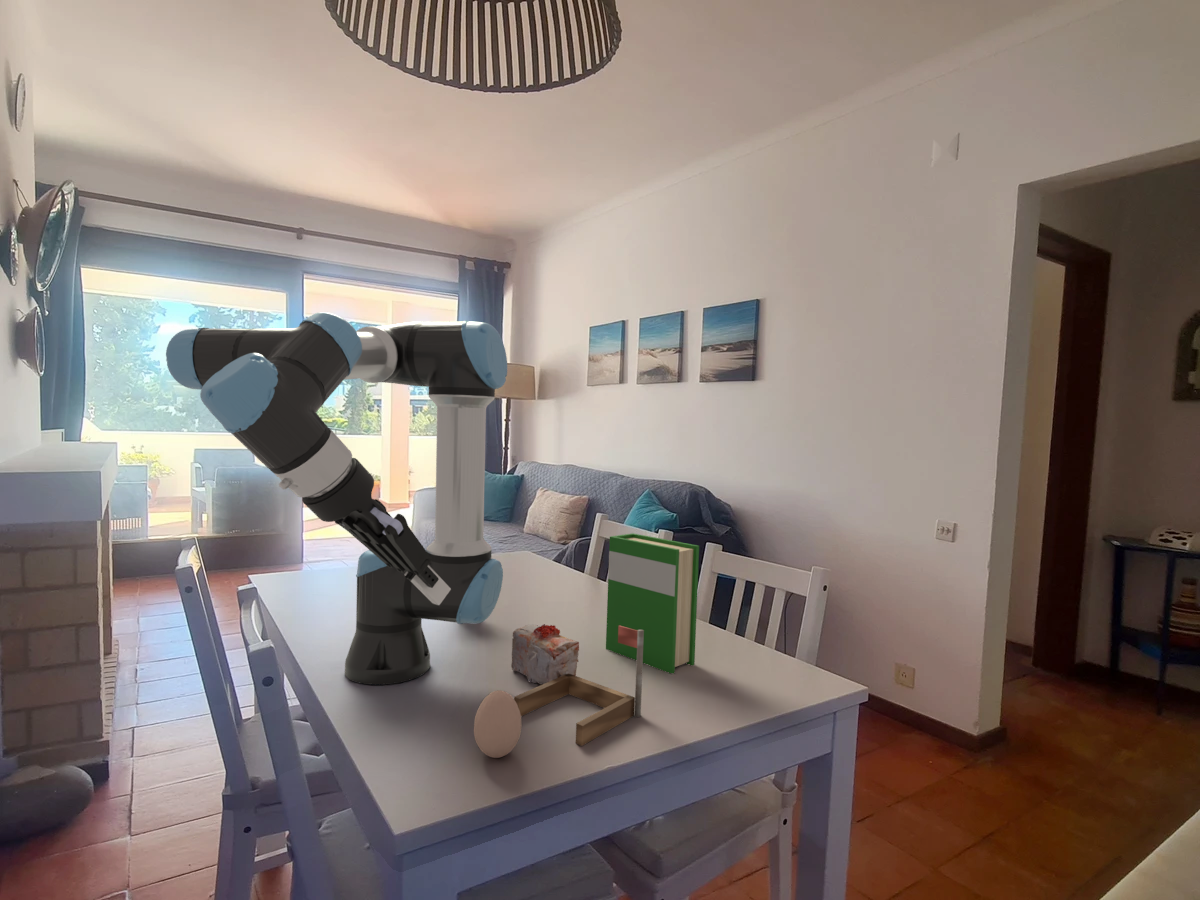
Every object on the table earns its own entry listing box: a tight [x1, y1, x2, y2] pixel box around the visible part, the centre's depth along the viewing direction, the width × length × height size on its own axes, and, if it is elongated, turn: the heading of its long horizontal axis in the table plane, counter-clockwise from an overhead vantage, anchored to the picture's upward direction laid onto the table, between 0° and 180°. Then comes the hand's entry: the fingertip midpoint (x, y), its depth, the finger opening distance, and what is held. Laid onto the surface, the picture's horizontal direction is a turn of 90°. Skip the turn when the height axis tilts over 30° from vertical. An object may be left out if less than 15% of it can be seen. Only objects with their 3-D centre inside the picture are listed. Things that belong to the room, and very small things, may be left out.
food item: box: [510, 624, 580, 685], centre depth 114 cm, size 14×8×10 cm, turn 46°
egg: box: [473, 689, 523, 759], centre depth 87 cm, size 7×7×9 cm
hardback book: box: [605, 532, 700, 674], centre depth 127 cm, size 18×7×24 cm, turn 45°
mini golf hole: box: [513, 626, 644, 747], centre depth 100 cm, size 15×14×14 cm
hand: (441, 596), depth 84 cm, fingers closed
